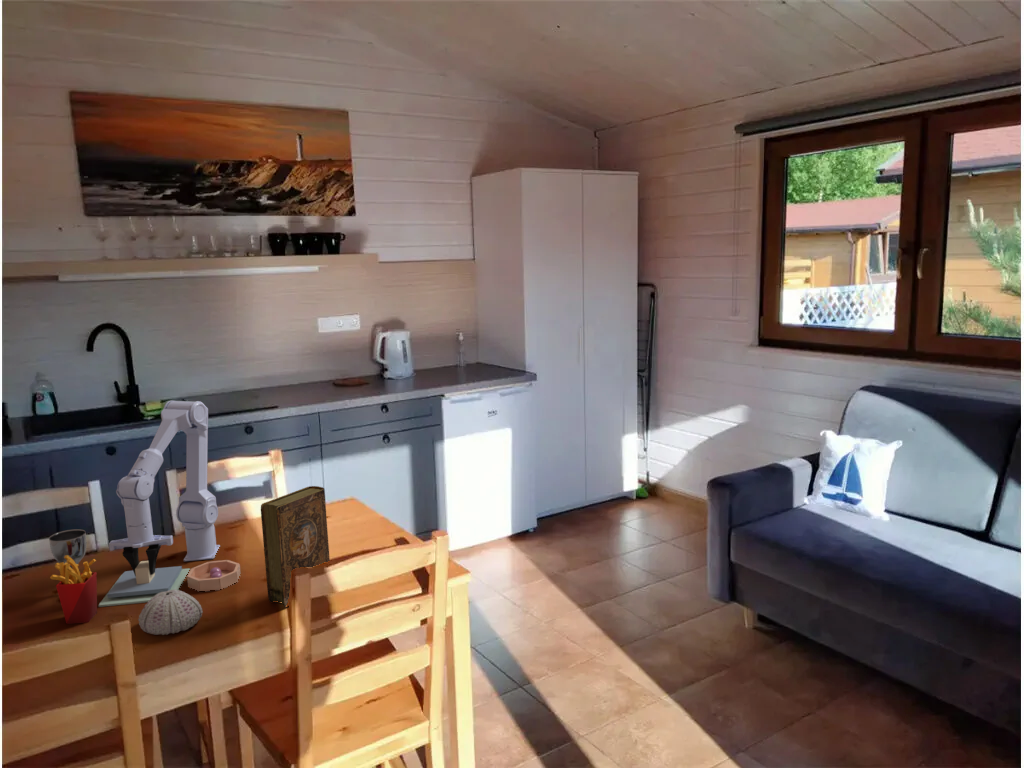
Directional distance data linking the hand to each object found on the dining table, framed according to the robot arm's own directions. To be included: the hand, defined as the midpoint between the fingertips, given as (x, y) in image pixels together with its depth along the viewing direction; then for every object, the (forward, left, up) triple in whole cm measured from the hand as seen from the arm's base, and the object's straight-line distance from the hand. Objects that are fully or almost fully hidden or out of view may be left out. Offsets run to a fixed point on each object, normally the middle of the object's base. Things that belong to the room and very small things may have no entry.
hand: (145, 573), depth 196 cm
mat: (0, 0, -4) cm, 4 cm away
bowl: (0, +16, -4) cm, 17 cm away
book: (+13, +39, -4) cm, 42 cm away
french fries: (+15, -12, -4) cm, 19 cm away
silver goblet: (-2, -18, -4) cm, 18 cm away
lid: (0, 0, -3) cm, 3 cm away
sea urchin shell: (+23, +11, -4) cm, 26 cm away
